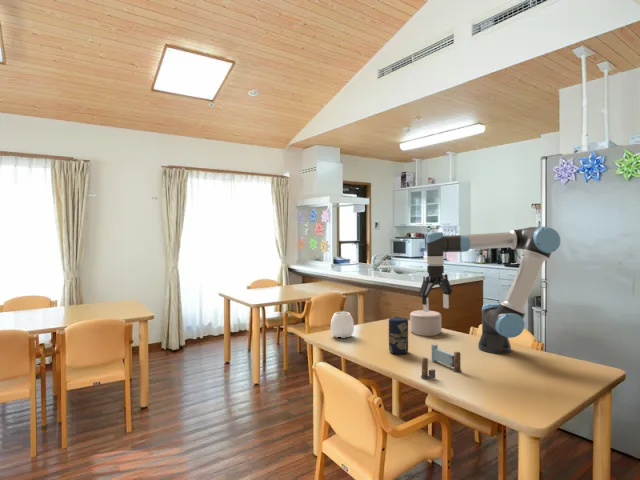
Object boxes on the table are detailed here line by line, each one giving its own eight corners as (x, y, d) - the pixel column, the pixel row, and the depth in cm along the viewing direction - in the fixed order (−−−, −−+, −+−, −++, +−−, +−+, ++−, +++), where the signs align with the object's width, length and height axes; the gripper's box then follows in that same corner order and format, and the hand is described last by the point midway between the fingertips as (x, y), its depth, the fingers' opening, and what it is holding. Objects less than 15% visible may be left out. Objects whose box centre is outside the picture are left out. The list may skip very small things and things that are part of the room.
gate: (456, 368, 177) (456, 351, 177) (452, 369, 176) (452, 352, 176) (435, 360, 189) (435, 344, 189) (431, 360, 188) (431, 344, 188)
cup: (327, 334, 237) (327, 311, 237) (348, 332, 241) (348, 310, 241) (335, 340, 224) (335, 316, 224) (357, 338, 228) (357, 314, 228)
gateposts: (457, 369, 177) (457, 350, 177) (464, 372, 173) (464, 353, 173) (419, 377, 168) (418, 357, 168) (425, 380, 164) (425, 360, 164)
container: (413, 336, 232) (413, 316, 231) (407, 328, 250) (407, 309, 249) (445, 336, 231) (445, 316, 231) (437, 328, 249) (437, 309, 249)
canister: (393, 356, 196) (393, 318, 196) (385, 350, 205) (385, 314, 205) (411, 354, 199) (411, 317, 198) (402, 348, 208) (402, 313, 207)
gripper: (447, 262, 202) (447, 305, 203) (410, 266, 189) (411, 311, 189) (459, 263, 196) (460, 307, 196) (422, 267, 183) (423, 314, 183)
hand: (436, 309), depth 193 cm, fingers open, 13 cm apart
